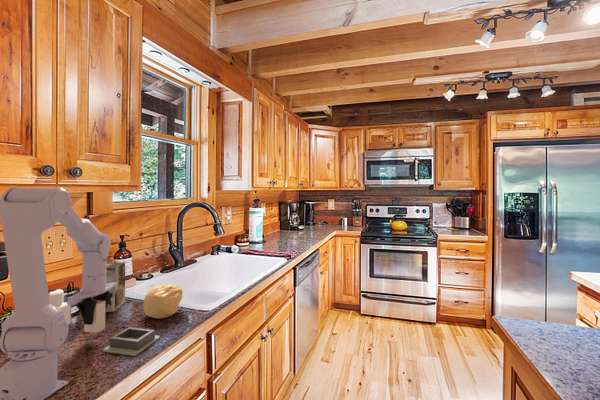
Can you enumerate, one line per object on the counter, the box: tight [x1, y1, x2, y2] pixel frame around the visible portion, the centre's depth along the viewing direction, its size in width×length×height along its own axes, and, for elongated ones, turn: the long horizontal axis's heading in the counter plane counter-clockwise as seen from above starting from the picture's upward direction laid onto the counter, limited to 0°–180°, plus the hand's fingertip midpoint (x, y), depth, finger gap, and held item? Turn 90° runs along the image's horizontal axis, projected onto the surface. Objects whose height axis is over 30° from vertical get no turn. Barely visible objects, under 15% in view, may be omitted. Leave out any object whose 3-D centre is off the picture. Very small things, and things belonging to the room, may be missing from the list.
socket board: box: [102, 326, 161, 357], centre depth 83 cm, size 10×10×3 cm
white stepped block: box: [48, 288, 72, 326], centre depth 91 cm, size 7×7×12 cm
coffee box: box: [105, 261, 126, 313], centre depth 109 cm, size 9×6×16 cm
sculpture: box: [143, 283, 183, 320], centre depth 103 cm, size 12×12×11 cm
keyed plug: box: [83, 300, 106, 334], centre depth 84 cm, size 3×5×8 cm, turn 80°
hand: (94, 321), depth 84 cm, fingers closed on keyed plug, 3 cm apart
